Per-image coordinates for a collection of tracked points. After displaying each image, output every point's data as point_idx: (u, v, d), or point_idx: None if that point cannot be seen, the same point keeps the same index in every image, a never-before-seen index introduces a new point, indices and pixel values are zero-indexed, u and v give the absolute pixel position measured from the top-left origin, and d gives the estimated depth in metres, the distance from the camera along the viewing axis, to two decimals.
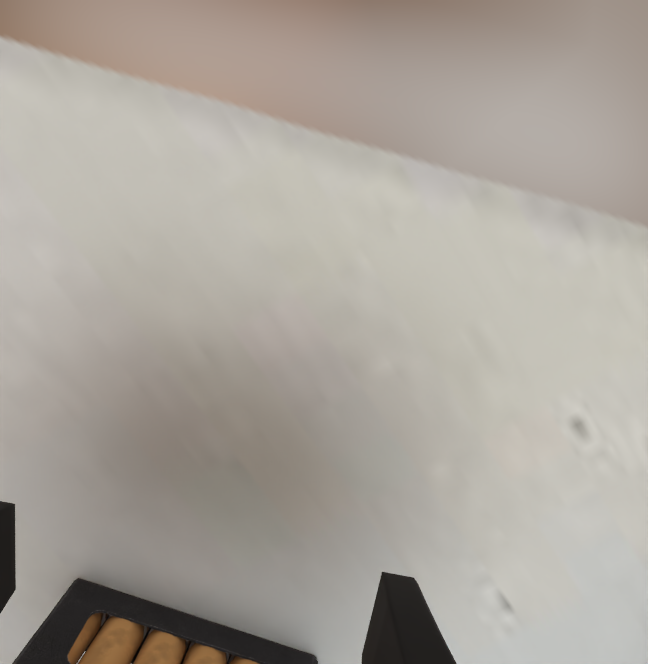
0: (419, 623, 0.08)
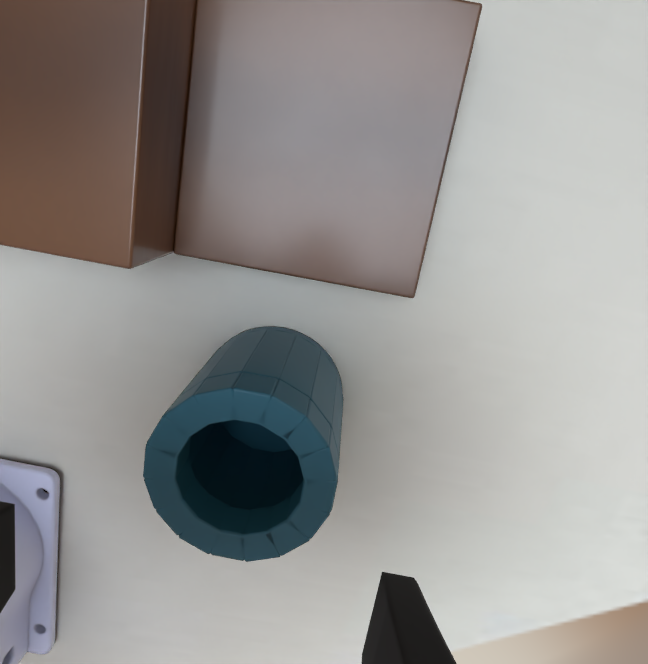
0: (419, 623, 0.08)
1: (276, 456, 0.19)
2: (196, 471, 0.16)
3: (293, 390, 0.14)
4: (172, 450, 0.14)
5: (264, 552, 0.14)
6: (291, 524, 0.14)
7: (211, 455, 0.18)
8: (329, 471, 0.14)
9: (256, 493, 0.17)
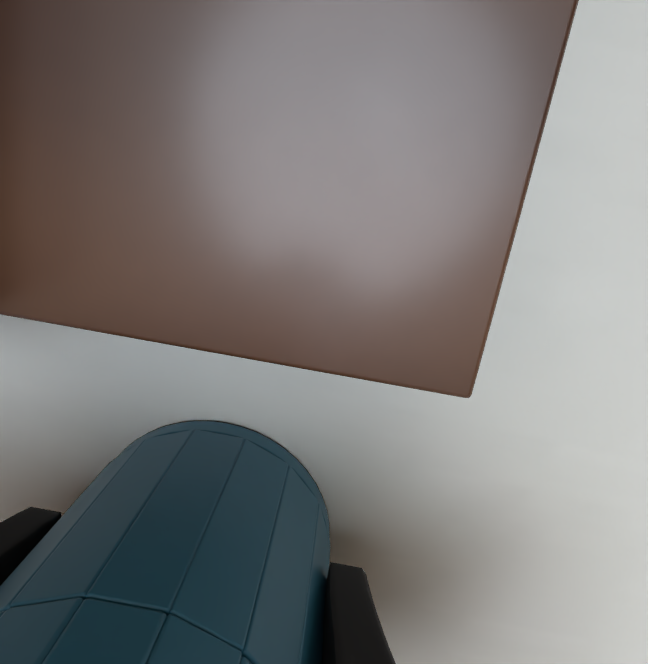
0: (358, 612, 0.08)
1: None
2: None
3: (201, 644, 0.06)
4: None
5: None
6: None
7: None
8: None
9: None
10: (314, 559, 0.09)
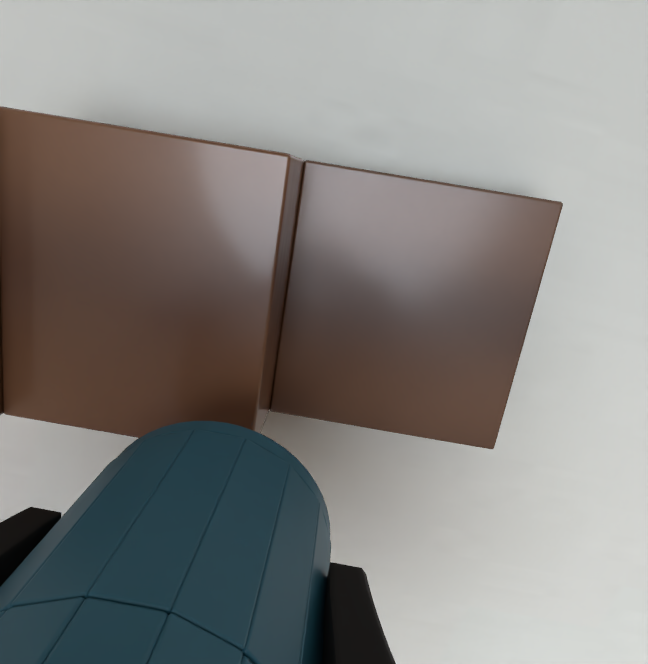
0: (358, 611, 0.08)
1: None
2: None
3: (202, 643, 0.06)
4: None
5: None
6: None
7: None
8: None
9: None
10: (315, 559, 0.09)
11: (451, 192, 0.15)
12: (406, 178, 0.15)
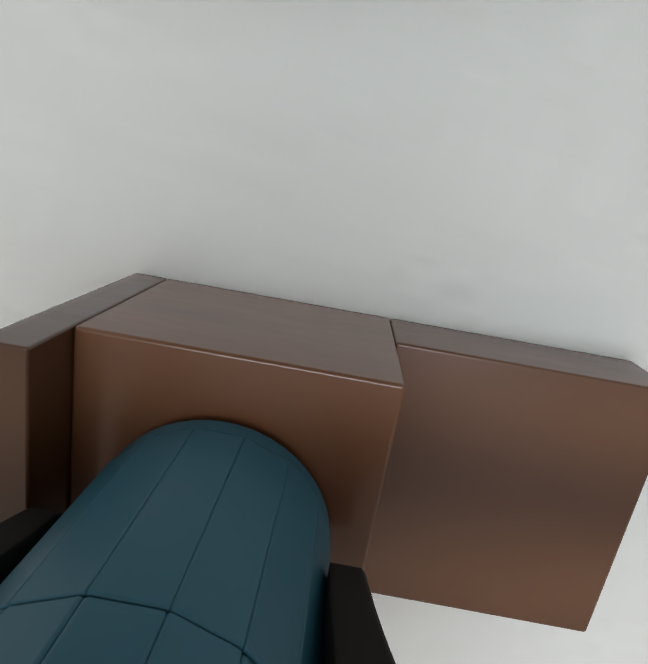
0: (358, 611, 0.08)
1: None
2: None
3: (201, 642, 0.06)
4: None
5: None
6: None
7: None
8: None
9: None
10: (314, 558, 0.09)
11: (557, 380, 0.13)
12: (508, 364, 0.13)
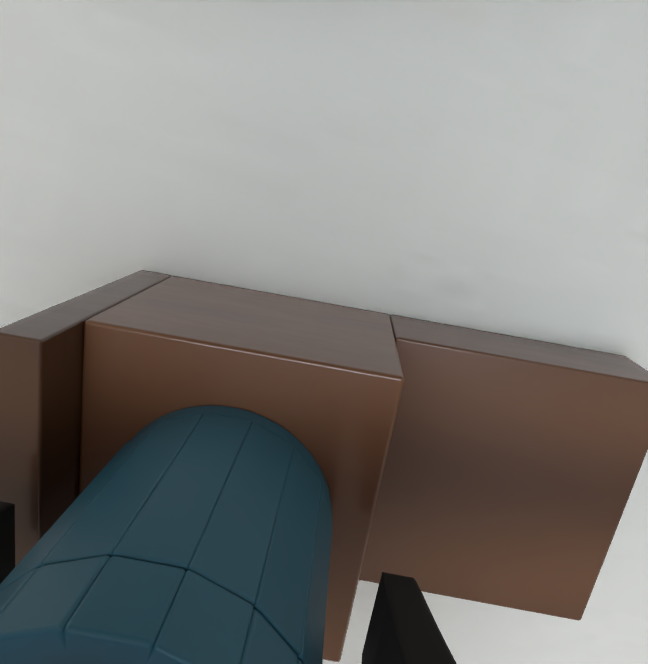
0: (419, 623, 0.08)
1: None
2: None
3: (217, 596, 0.07)
4: None
5: None
6: None
7: None
8: None
9: None
10: (318, 532, 0.10)
11: (552, 373, 0.14)
12: (504, 358, 0.14)
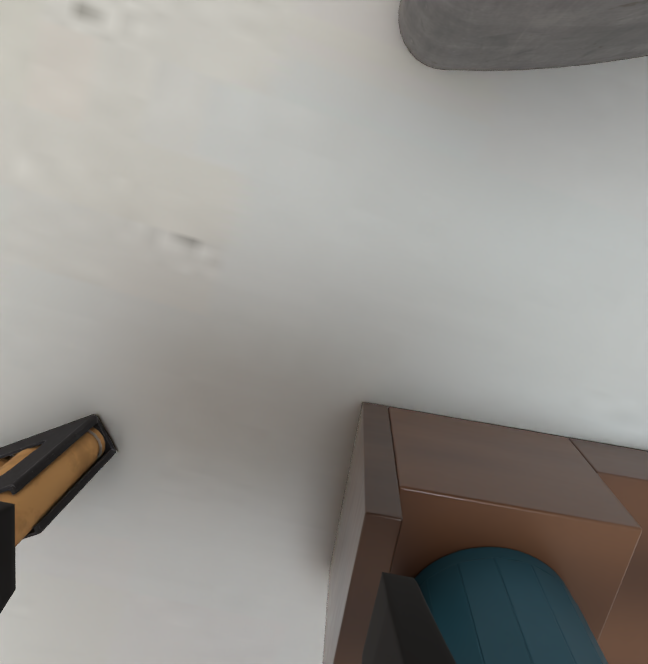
0: (419, 623, 0.08)
1: None
2: None
3: None
4: None
5: None
6: None
7: None
8: None
9: None
10: (603, 656, 0.13)
11: None
12: None
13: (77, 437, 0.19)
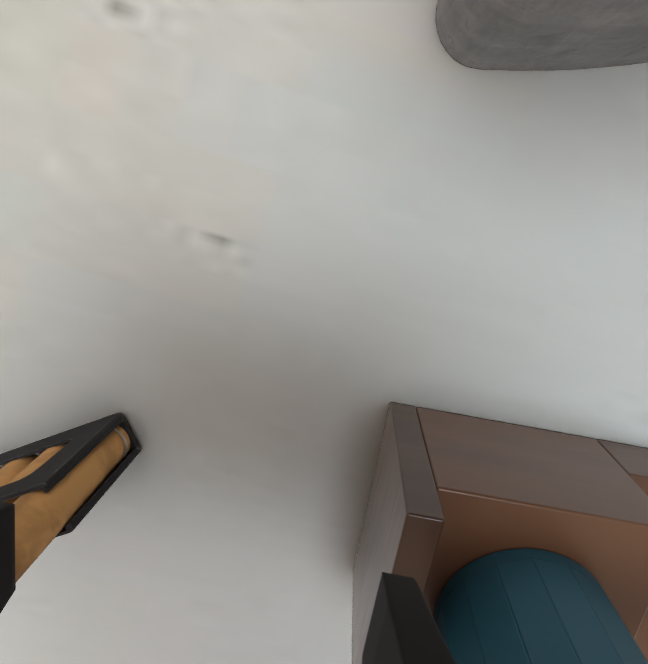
0: (419, 623, 0.08)
1: None
2: None
3: None
4: None
5: None
6: None
7: None
8: None
9: None
10: (645, 659, 0.13)
11: None
12: None
13: (104, 436, 0.19)
